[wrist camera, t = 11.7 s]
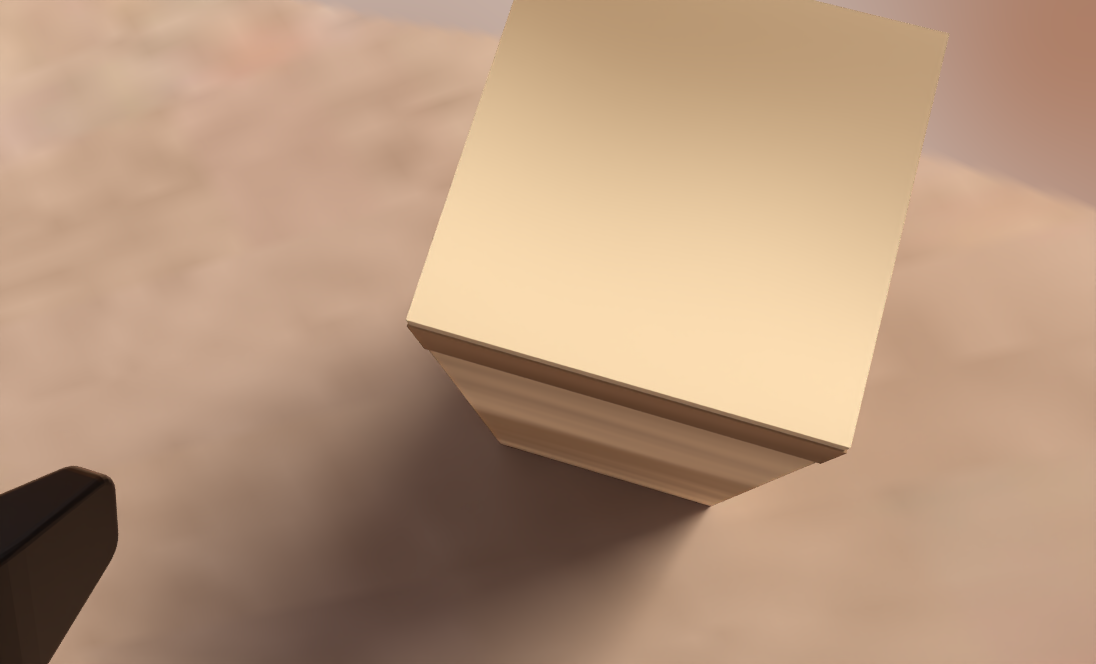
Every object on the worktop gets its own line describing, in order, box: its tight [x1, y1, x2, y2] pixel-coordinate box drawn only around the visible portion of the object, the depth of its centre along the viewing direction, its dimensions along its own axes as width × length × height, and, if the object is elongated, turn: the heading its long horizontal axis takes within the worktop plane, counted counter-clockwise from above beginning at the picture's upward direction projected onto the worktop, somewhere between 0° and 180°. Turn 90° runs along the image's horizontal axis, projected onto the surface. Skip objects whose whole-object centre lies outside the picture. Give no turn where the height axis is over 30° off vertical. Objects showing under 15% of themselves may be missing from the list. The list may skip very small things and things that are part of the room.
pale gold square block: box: [406, 0, 949, 506], centre depth 14 cm, size 4×4×10 cm
